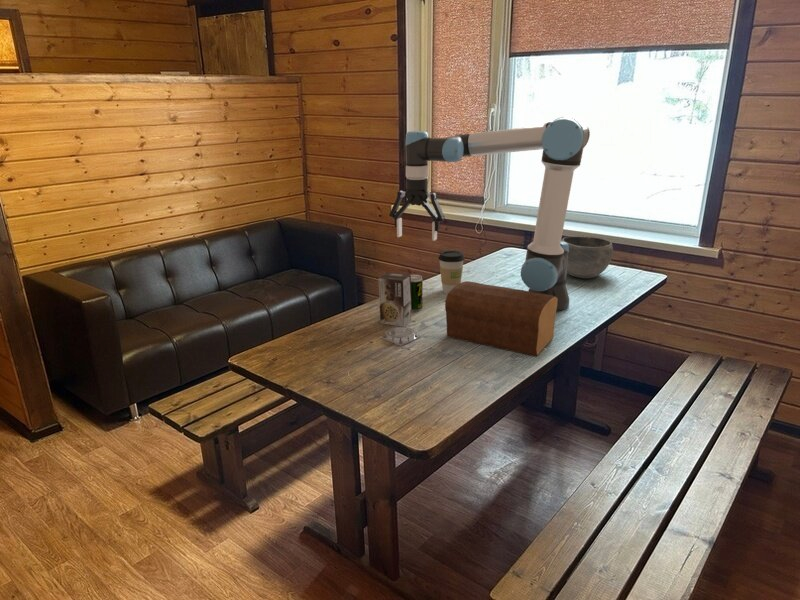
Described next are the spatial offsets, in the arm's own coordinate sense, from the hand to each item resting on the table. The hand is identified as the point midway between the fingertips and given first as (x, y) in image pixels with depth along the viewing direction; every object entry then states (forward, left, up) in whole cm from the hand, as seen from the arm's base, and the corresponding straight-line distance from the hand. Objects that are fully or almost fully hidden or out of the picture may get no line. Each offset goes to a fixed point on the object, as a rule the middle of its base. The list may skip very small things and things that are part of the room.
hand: (416, 238), depth 207 cm
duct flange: (-21, +29, -23) cm, 42 cm away
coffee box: (-10, +21, -23) cm, 33 cm away
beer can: (-7, +8, -23) cm, 25 cm away
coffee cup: (-4, -15, -23) cm, 28 cm away
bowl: (-31, -66, -23) cm, 76 cm away
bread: (-43, +8, -23) cm, 49 cm away
